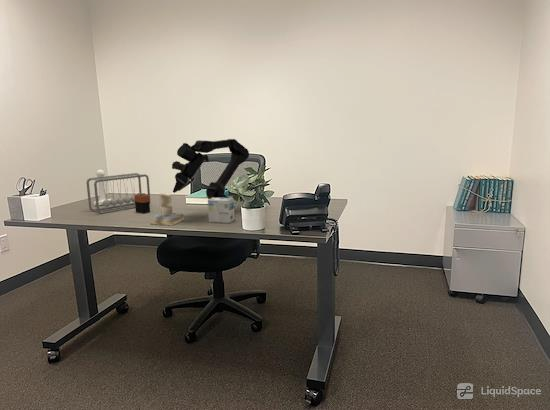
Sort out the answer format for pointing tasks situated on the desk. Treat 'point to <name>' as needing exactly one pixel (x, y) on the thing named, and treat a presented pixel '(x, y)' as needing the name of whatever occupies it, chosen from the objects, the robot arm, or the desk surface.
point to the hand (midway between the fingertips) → (175, 191)
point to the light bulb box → (221, 210)
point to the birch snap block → (166, 205)
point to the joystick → (101, 188)
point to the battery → (142, 203)
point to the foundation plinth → (167, 219)
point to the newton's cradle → (113, 201)
